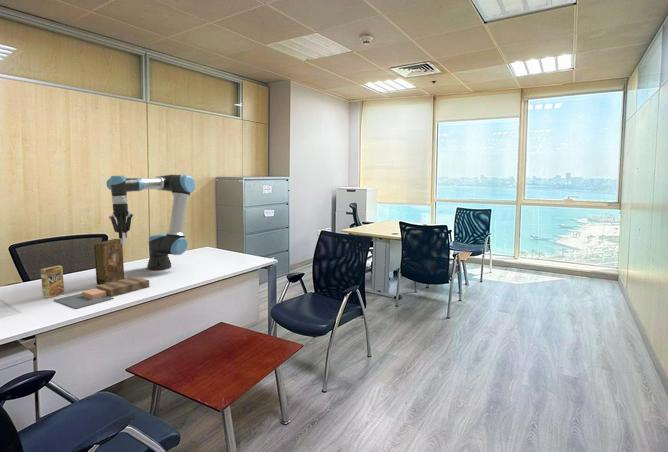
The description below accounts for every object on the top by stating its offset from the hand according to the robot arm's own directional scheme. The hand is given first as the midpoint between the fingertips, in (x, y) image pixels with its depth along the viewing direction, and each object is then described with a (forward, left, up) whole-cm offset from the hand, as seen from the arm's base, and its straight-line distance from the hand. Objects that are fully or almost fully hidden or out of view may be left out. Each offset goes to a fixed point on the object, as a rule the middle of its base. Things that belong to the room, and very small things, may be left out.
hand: (123, 243), depth 224 cm
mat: (+27, +8, -24) cm, 38 cm away
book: (+2, -11, -25) cm, 27 cm away
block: (+22, +8, -24) cm, 33 cm away
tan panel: (+6, +8, -24) cm, 26 cm away
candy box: (+32, -12, -25) cm, 42 cm away
